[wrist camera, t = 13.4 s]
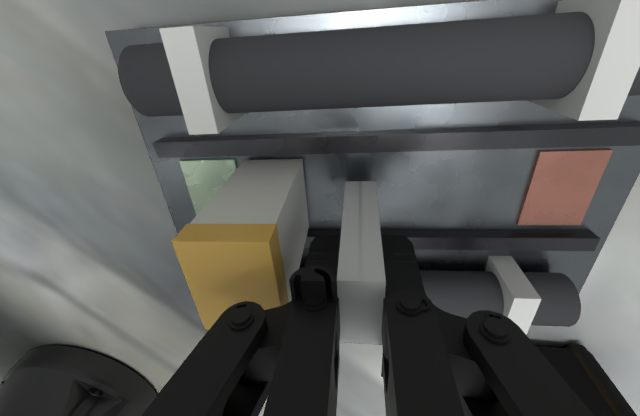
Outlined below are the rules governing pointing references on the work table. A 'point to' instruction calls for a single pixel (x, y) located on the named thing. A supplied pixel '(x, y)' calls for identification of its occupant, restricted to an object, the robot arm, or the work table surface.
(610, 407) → the voltmeter
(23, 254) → the work table surface
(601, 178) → the panel
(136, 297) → the work table surface
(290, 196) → the yellow and grey block
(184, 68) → the pair of dark rods
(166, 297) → the work table surface
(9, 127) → the work table surface
